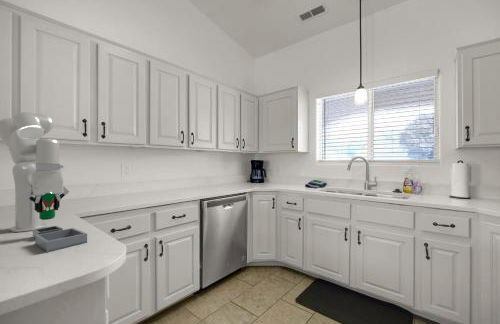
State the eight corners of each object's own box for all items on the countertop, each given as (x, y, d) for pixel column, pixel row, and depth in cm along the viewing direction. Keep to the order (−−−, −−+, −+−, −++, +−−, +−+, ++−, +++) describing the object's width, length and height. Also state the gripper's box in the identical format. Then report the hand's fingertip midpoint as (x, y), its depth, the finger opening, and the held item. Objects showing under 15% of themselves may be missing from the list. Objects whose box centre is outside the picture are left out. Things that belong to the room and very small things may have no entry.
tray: (35, 244, 87) (35, 235, 87) (73, 236, 97) (73, 227, 97) (47, 252, 79) (47, 242, 79) (87, 242, 89) (87, 233, 89)
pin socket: (32, 237, 96) (32, 229, 96) (56, 232, 102) (56, 225, 102) (38, 240, 91) (38, 233, 91) (62, 235, 98) (62, 228, 98)
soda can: (53, 216, 101) (53, 189, 101) (56, 218, 97) (56, 190, 98) (38, 219, 97) (38, 190, 97) (40, 220, 94) (40, 191, 94)
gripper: (68, 167, 106) (68, 206, 106) (17, 168, 92) (16, 213, 92) (75, 168, 102) (74, 208, 102) (22, 168, 88) (21, 216, 88)
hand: (47, 210), depth 97 cm, fingers closed on soda can, 5 cm apart
